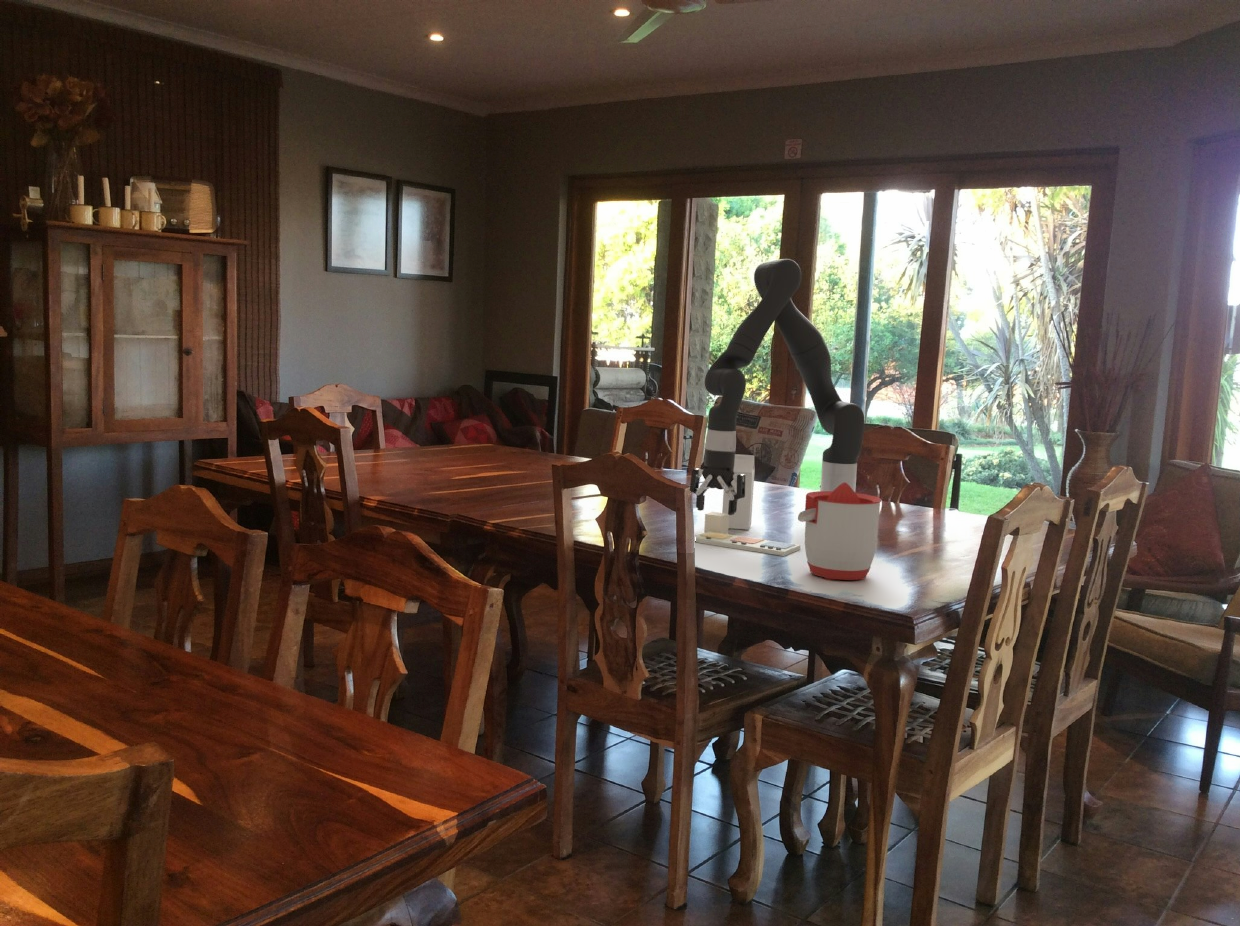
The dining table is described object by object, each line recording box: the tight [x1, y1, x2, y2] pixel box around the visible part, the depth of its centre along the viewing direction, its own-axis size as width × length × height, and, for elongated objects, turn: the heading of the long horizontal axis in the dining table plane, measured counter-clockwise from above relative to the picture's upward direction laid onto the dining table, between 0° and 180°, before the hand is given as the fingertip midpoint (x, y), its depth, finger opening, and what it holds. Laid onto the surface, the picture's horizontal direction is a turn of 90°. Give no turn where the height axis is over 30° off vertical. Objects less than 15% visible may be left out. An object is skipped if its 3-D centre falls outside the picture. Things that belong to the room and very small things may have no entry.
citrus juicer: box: [797, 482, 883, 581], centre depth 226 cm, size 16×17×20 cm
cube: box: [703, 511, 729, 534], centre depth 269 cm, size 4×4×5 cm
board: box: [695, 532, 801, 557], centre depth 255 cm, size 10×24×1 cm, turn 59°
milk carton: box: [721, 453, 756, 531], centre depth 278 cm, size 7×7×19 cm
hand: (715, 512), depth 268 cm, fingers open, 8 cm apart
